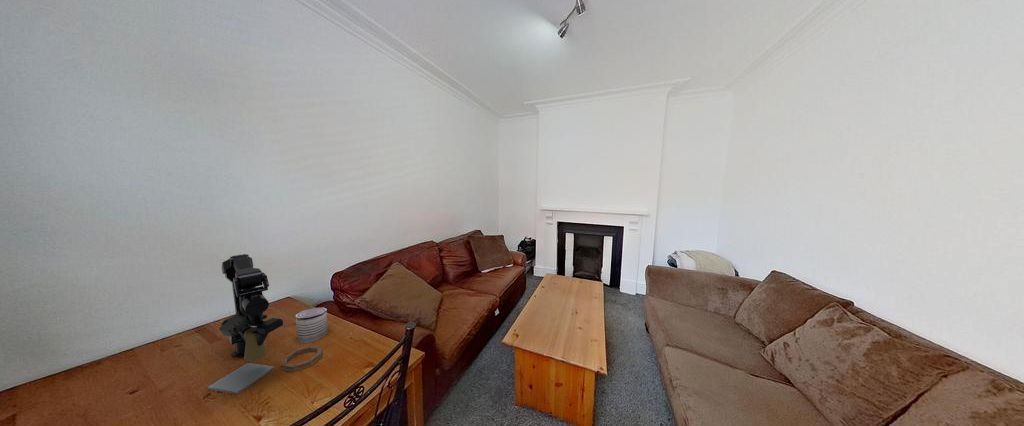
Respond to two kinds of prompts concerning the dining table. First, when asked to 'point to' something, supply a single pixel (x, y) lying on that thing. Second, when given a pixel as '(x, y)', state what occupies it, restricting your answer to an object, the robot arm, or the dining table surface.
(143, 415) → the dining table surface
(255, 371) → the slate mat
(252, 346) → the cork
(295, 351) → the walnut holder
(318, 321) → the can
